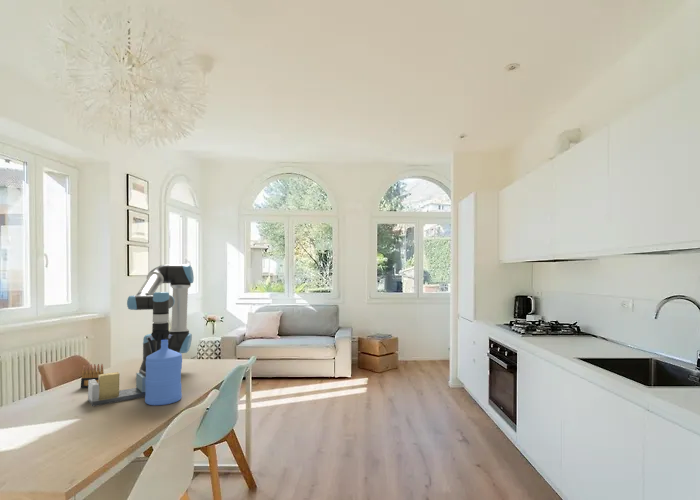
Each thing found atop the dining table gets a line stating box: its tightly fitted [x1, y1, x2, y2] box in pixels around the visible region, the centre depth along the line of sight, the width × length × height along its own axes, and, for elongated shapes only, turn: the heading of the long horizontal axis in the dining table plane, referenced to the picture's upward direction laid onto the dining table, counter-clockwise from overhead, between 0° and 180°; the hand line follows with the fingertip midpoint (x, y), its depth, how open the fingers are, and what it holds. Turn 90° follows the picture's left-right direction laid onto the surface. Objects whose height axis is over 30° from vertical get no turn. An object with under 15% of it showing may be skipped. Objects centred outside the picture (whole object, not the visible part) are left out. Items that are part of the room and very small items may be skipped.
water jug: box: [144, 340, 183, 406], centre depth 194 cm, size 16×16×28 cm
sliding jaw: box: [135, 369, 146, 392], centre depth 205 cm, size 4×12×8 cm, turn 40°
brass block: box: [98, 371, 120, 398], centre depth 195 cm, size 8×4×10 cm, turn 129°
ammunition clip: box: [80, 363, 105, 389], centre depth 217 cm, size 11×2×12 cm, turn 98°
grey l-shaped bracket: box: [87, 379, 145, 407], centre depth 199 cm, size 26×12×9 cm, turn 129°
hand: (159, 369), depth 209 cm, fingers closed
